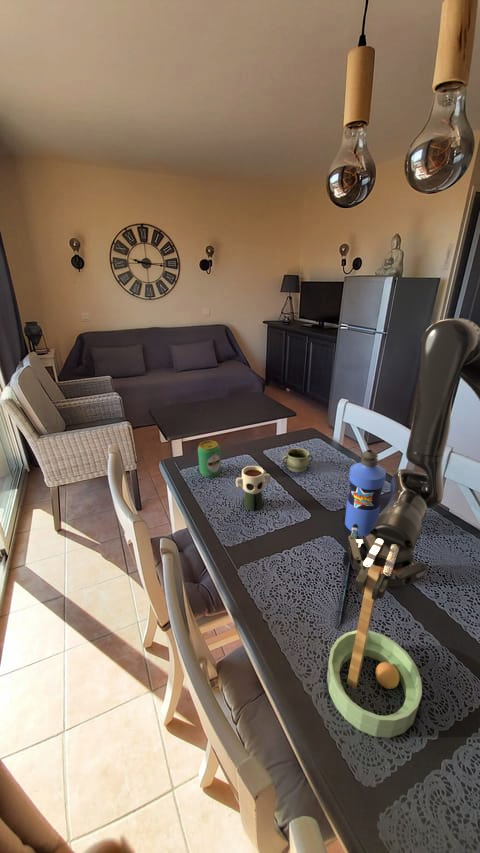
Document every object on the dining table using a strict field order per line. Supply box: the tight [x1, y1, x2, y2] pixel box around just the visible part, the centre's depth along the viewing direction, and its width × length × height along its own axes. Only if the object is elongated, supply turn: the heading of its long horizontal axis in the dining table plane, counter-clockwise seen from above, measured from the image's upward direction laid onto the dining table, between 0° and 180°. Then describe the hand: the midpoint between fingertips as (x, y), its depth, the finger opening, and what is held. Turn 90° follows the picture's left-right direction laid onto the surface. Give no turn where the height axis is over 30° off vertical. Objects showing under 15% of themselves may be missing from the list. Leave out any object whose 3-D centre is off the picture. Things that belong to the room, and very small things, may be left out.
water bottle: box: [344, 449, 387, 536], centre depth 102 cm, size 9×9×25 cm
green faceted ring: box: [326, 629, 423, 738], centre depth 64 cm, size 15×15×6 cm
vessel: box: [281, 447, 314, 473], centre depth 138 cm, size 12×9×6 cm
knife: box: [338, 524, 359, 626], centre depth 88 cm, size 31×3×4 cm, turn 155°
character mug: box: [235, 465, 271, 511], centre depth 115 cm, size 11×7×13 cm, turn 101°
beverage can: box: [197, 440, 222, 479], centre depth 134 cm, size 8×8×12 cm
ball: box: [375, 662, 400, 690], centre depth 65 cm, size 4×4×4 cm
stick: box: [346, 564, 382, 690], centre depth 60 cm, size 2×2×24 cm
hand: (367, 592), depth 55 cm, fingers closed on stick, 1 cm apart
